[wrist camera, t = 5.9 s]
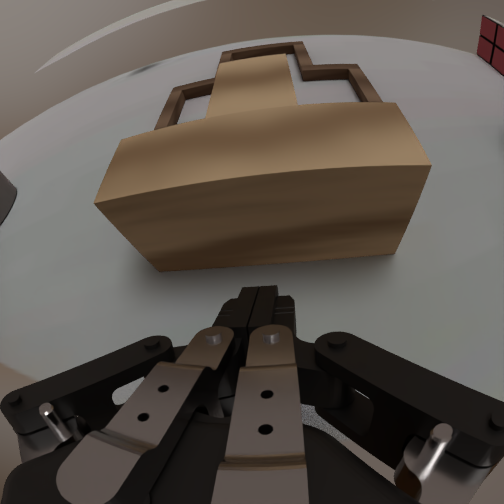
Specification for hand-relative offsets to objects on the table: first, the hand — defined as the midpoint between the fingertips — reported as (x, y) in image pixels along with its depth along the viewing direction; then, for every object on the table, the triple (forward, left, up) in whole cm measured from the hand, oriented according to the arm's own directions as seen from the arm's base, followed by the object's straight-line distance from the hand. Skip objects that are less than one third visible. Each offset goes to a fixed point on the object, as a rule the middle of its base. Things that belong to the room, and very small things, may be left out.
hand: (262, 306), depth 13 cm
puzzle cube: (+60, -21, -5) cm, 64 cm away
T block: (+9, +5, -4) cm, 12 cm away
